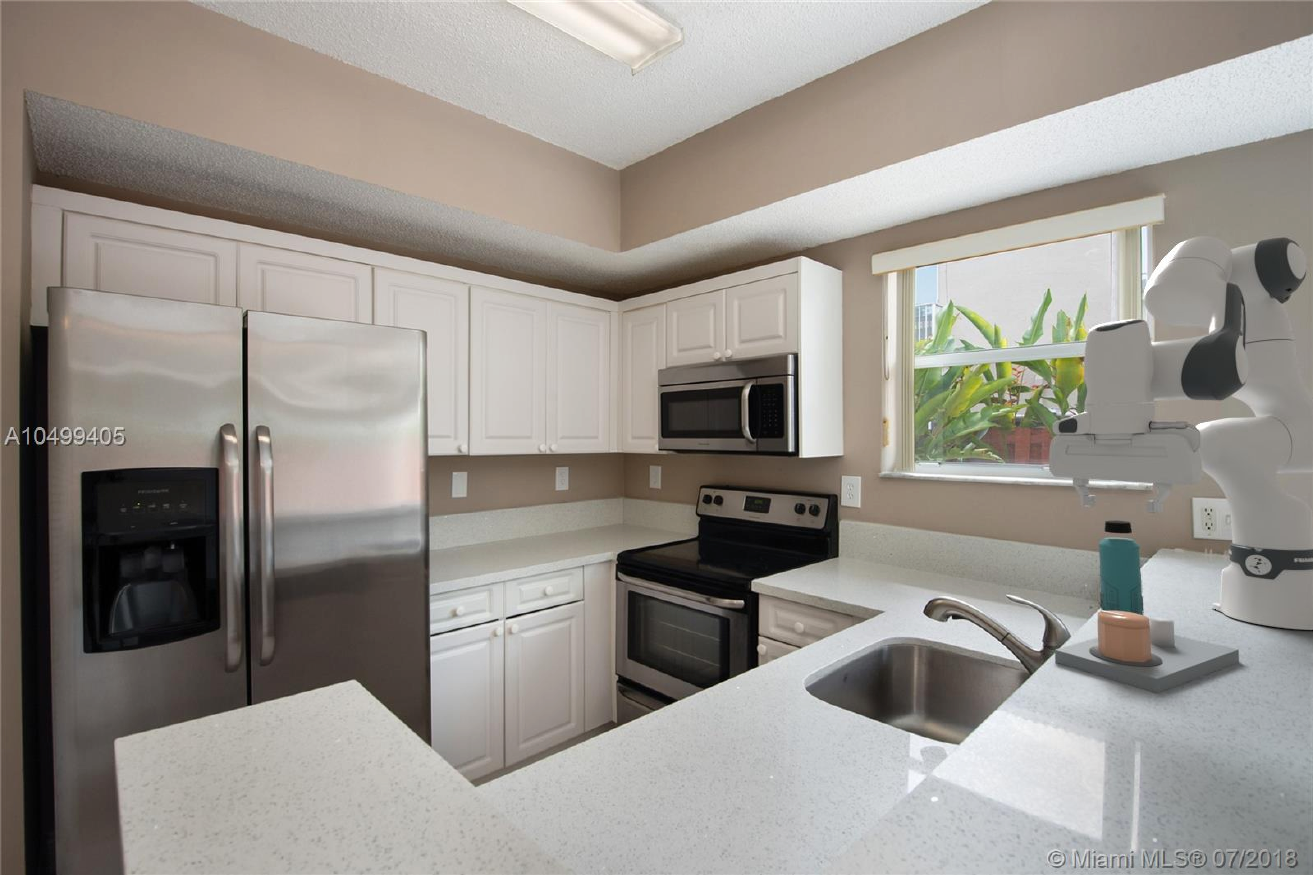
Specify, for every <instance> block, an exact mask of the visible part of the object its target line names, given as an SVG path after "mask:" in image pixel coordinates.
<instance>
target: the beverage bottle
mask: <svg viewBox="0 0 1313 875" xmlns="http://www.w3.org/2000/svg"><path fill="white" fill-rule="evenodd" d="M1104 532H1105V533H1111V534H1132V525H1131V521H1128V520H1127V521H1126V520H1115V519H1114V520H1105V522H1104ZM1098 548H1099V576H1100V577H1099V583H1100V592H1099V593H1100V594H1099V595H1100V599H1099V600H1100V609H1101V611H1102V610H1103V611H1124V612H1131V613H1136V614H1140V615H1143V616H1144V610H1145V609H1144V596H1143V591H1144V589H1143V588H1144V587H1143V579H1142V573H1141V571H1142V570H1141V558H1140V557H1141V556H1140V555H1141V554H1140V552H1141V551H1140V548H1141V546H1140V544H1139V543H1138V542H1136V541H1135V540H1134V539H1132V538H1127V537H1116V536H1115V537H1112V536H1111V537H1104V538H1103V539H1101V541H1099V543H1098Z"/></svg>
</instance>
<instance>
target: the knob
mask: <svg viewBox="0 0 1313 875" xmlns="http://www.w3.org/2000/svg"><path fill="white" fill-rule="evenodd" d="M1097 638H1098V649H1099V652H1101V653H1102V654H1103V655H1105V656H1106V657H1110V658H1114V659H1118V660H1122V661H1131V662H1145V661H1148V660H1150V659H1151V637H1150V617H1147V616H1145V615H1144V614H1143V615H1140V614H1136V613H1131V612H1124V611H1103V610H1102V609H1101V610H1100V611H1098V612H1097Z"/></svg>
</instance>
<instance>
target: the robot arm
mask: <svg viewBox="0 0 1313 875" xmlns="http://www.w3.org/2000/svg"><path fill="white" fill-rule="evenodd" d="M1307 262H1308V261H1307V257H1306V255H1305V253H1304V251H1303V249H1301V247H1300V245H1299V244H1298V243H1297V242H1296V241H1295V240H1292V239H1290V238H1288V237H1286V236H1283V237H1273V238H1267V239H1261V240H1260V241H1258V242H1257V243H1252V244H1246V245H1243V246H1239V247H1235V248H1231V247H1230V246H1229V245H1228V244H1227V243H1226V242H1225V241H1224V240H1222V239H1220V238H1217V237H1214V236H1209V235H1208V236H1207V235H1204V236H1203V235H1202V236H1195V237H1191V238H1188V239H1186V240H1184V241H1182V242H1180V243H1178V244H1176V246H1174V247H1173V249H1171V250H1170V252H1168V254H1167V255H1165V256H1164V257H1163V259H1162V260H1161V261H1160V263H1159V264H1158V265H1157V267H1156V268H1155V269H1154V271H1153V273H1152V274H1151V276H1150V278H1149V280H1148V281H1147V283H1146V286H1145V288H1144V295H1143V303H1144V306H1145V308H1146V310H1147V312H1148V313H1149V315H1151V316H1152V317H1153V318H1154V319H1156V320H1157V321H1158V322H1160V323H1163V324H1165V325H1168V326H1171V327H1176V328H1207V329H1208V333H1206V334H1203V335H1199V336H1195V337H1187V338H1180V339H1172V340H1171V339H1169V340H1161V341H1154V342H1153V341H1152V339H1151V337H1152V336H1151V333H1150V328H1149V325H1148V322H1147V321H1146V320H1144V319H1141V318H1131V319H1124V320H1123V319H1121V320H1116V321H1110V322H1104V323H1100V324H1097V325H1095V326H1093V327H1092V328H1090V329H1089V331H1088V332H1087V337H1086V340H1085V341H1086V342H1085V346H1084V347H1085V348H1084V358H1083V380H1084V383H1085V386H1086V389H1087V390H1086V391H1087V392H1086V396H1085V399H1084V412H1080V413H1078V414H1075V415H1072V416H1069V417H1065V418H1063V419H1059V420H1057V421H1055V422H1053V423H1052V425H1051V426H1052V432H1053V433H1054V435H1055V436H1054V437H1053V438H1052V440H1051V442H1050V444H1049V452H1048V453H1049V454H1048V455H1049V456H1048V470H1049V472H1050V474H1051V475H1053V477H1055V478H1063V479H1064V478H1066V479H1072V486H1073V487H1074V490H1076V492H1077V493H1078V495H1079V496H1080V506H1082V507H1095V506H1097V501H1096V500H1097V495H1094V494H1091V492H1090V491H1089V489H1088V487H1087V485H1089V483H1090V482H1089V481H1090V480H1096V481H1097V480H1099V481H1114V482H1117V481H1118V482H1128V483H1129V482H1131V483H1134V482H1135V483H1146V484H1148V483H1149V484H1150V483H1151V484H1154V486H1153V487H1154V491H1158V492H1156V493H1157V494H1156V495H1155V497H1154V498H1153V499H1150V500H1146V502H1145V503H1146V505H1145V506H1146V512H1147V513H1152V514H1163V513H1164V510H1165V509H1164V507H1165V505H1164V504H1165V503H1164V502H1165V501H1166V500H1167V498H1168V497H1169V496H1170V494H1171V493H1172V492H1173V487H1174V486H1173V485H1182V486H1184V485H1185V486H1187V485H1195V484H1197V483H1198V482H1200V481H1201V480H1202V479H1203V475H1204V473H1205V474H1207V475H1208V476H1210V478H1212V479H1213V480H1214V481H1215V482H1216V483H1217V485H1218V486H1219V487H1220V489H1221V490H1222V492H1223V494H1224V496H1225V499H1226V501H1227V503H1228V508H1229V514H1230V523H1231V524H1230V525H1231V540H1232V541H1231V542H1230V543H1229V549H1228V554H1229V561H1230V564H1229V565H1228V566H1226V567H1225V568H1223V569H1222V570H1221V574H1220V575H1221V577H1220V578H1221V579H1220V592H1219V593H1220V594H1219V597H1220V598H1219V601H1218V602H1212V603H1211V609H1213V610H1215V609H1216V610H1215V611H1219V612H1222V614H1224V615H1225V616H1228V617H1229V618H1233V619H1236V620H1239V621H1243V622H1247V623H1250V624H1251V623H1252V624H1257V625H1263V626H1268V627H1272V628H1273V627H1275V628H1283V629H1292V630H1304V631H1305V630H1307V631H1308V630H1310V631H1312V630H1313V510H1312V508H1311V507H1310V506H1309V504H1308V503H1306V502H1305V501H1304V500H1303V499H1301V498H1299V497H1297V496H1295V495H1293V494H1290V493H1288V492H1286V491H1285V489H1284V488H1283V487H1282V486H1281V484H1280V482H1279V479H1278V478H1279V477H1278V474H1312V473H1313V395H1311V392H1310V391H1309V389H1308V388H1307V386H1306V385H1305V382H1304V380H1303V378H1302V374H1301V369H1300V364H1299V360H1298V355H1297V354H1298V353H1297V350H1296V349H1297V348H1296V343H1295V342H1296V341H1295V335H1294V331H1293V328H1292V324H1291V319H1290V317H1289V314H1288V312H1287V310H1286V307H1285V305H1284V304H1285V303H1287V302H1288V301H1289V300H1290V298H1291V296H1292V294H1293V293H1294V292H1296V291H1297V290H1298V289H1299V287H1300V286H1301V285H1302V283H1303V282H1304V280H1305V279H1306V276H1307V267H1308V266H1307V265H1308V263H1307ZM1229 397H1232V398H1234V399H1236V400H1239V401H1241V402H1243V403H1244V404H1245V405H1247V406H1248V407H1249V408H1250V410H1252V412H1253V413H1254V415H1255V416H1254V417H1253V416H1252V417H1251V416H1250V417H1249V416H1247V417H1227V418H1220V419H1215V420H1210V421H1206V422H1205V421H1204V422H1201V423H1198V424H1197V425H1193V424H1190V423H1188V422H1187V421H1181V420H1180V421H1173V422H1172V421H1171V422H1170V421H1155V401H1156V402H1157V401H1160V402H1162V401H1181V400H1182V401H1183V400H1185V401H1186V400H1192V401H1217V402H1218V401H1220V402H1221V401H1224V400H1225V399H1228V398H1229Z"/></svg>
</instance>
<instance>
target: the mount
mask: <svg viewBox="0 0 1313 875" xmlns="http://www.w3.org/2000/svg"><path fill="white" fill-rule="evenodd" d="M1149 620H1150V637H1151V659H1150V660H1148V661H1145V662H1131V661H1122V660H1118V659H1114V658H1110V657H1106V656H1105V655H1103V654H1102V653H1101V652H1099V649H1098V637H1095V638H1092V639H1089V640H1088V639H1087V640H1085V641H1082V642H1077V643H1074V644H1070V645H1067V646H1063V647H1059V648H1056V649H1054V660H1055V663H1058V664H1061V665H1063V666H1067V667H1070V668H1073V669H1077V670H1080V671H1083V672H1087V673H1091V674H1094V675H1097V676H1099V677H1103V678H1107V679H1110V680H1114V681H1115V682H1120V683H1123V684H1126V685H1130V686H1133V687H1136V688H1140V689H1143V690H1147V691H1150V692H1152V693H1156V694H1158V693H1161V692H1163V691H1167V690H1169V689H1173V688H1174V687H1177V686H1180V685H1182V684H1184V683H1188V682H1190V681H1192V680H1193V681H1194V680H1195V679H1198V678H1200V677H1203V676H1207V675H1208V674H1213V673H1214V672H1216V671H1220V670H1222V669H1224V668H1228V667H1230V666H1233V665H1235V664H1239V663H1240V654H1239V653H1240V652H1239V650H1240V649H1239V648H1234V647H1229V646H1225V645H1220V644H1216V643H1211V642H1207V641H1204V640H1203V641H1202V640H1198V639H1194V638H1190V637H1185V636H1181V635H1176V634H1175V621H1174V619H1171V618H1166V617H1161V616H1160V617H1159V616H1153V617H1152V616H1151V617H1149Z"/></svg>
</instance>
